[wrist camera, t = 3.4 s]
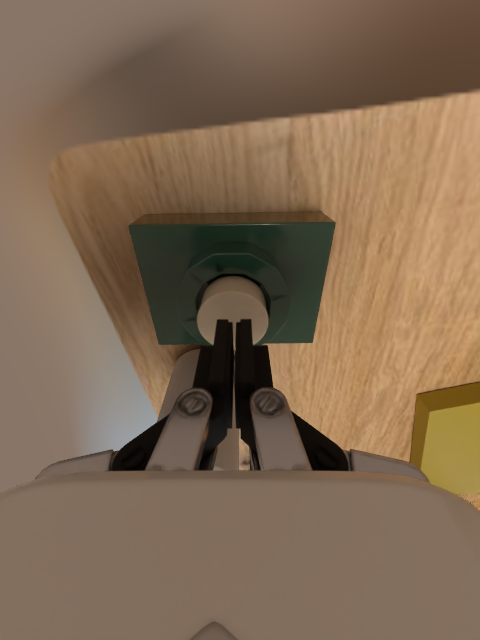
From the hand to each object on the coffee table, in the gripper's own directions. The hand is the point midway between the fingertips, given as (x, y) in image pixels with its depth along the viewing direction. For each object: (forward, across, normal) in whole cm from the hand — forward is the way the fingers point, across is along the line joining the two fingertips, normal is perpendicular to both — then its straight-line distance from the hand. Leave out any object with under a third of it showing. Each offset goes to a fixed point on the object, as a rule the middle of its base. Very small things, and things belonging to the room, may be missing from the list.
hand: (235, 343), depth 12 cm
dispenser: (+8, 0, 0) cm, 8 cm away
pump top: (+4, 0, 0) cm, 4 cm away
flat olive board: (+9, -29, +24) cm, 38 cm away
